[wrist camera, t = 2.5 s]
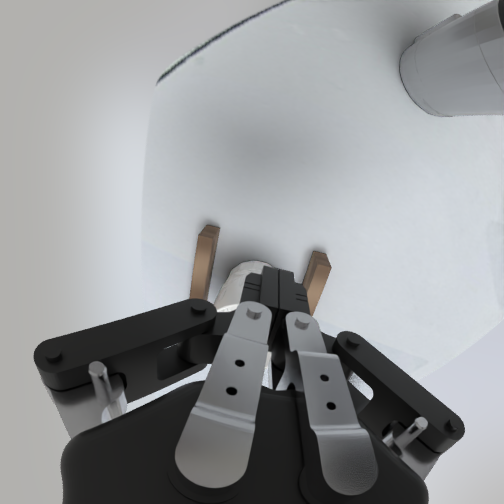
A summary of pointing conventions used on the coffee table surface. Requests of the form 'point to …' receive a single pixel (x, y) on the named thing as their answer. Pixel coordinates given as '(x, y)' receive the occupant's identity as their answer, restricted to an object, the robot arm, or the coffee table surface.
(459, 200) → the coffee table surface
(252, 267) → the white cup
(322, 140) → the coffee table surface
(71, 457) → the robot arm
